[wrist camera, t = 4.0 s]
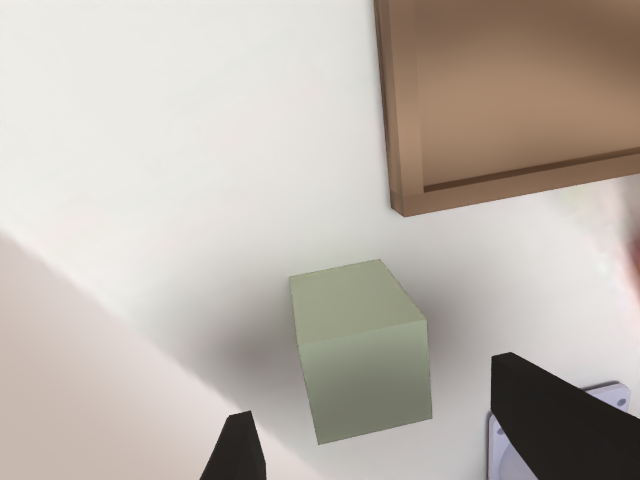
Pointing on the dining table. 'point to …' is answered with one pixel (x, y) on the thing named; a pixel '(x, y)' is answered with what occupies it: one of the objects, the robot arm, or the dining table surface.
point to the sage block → (360, 350)
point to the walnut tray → (506, 97)
